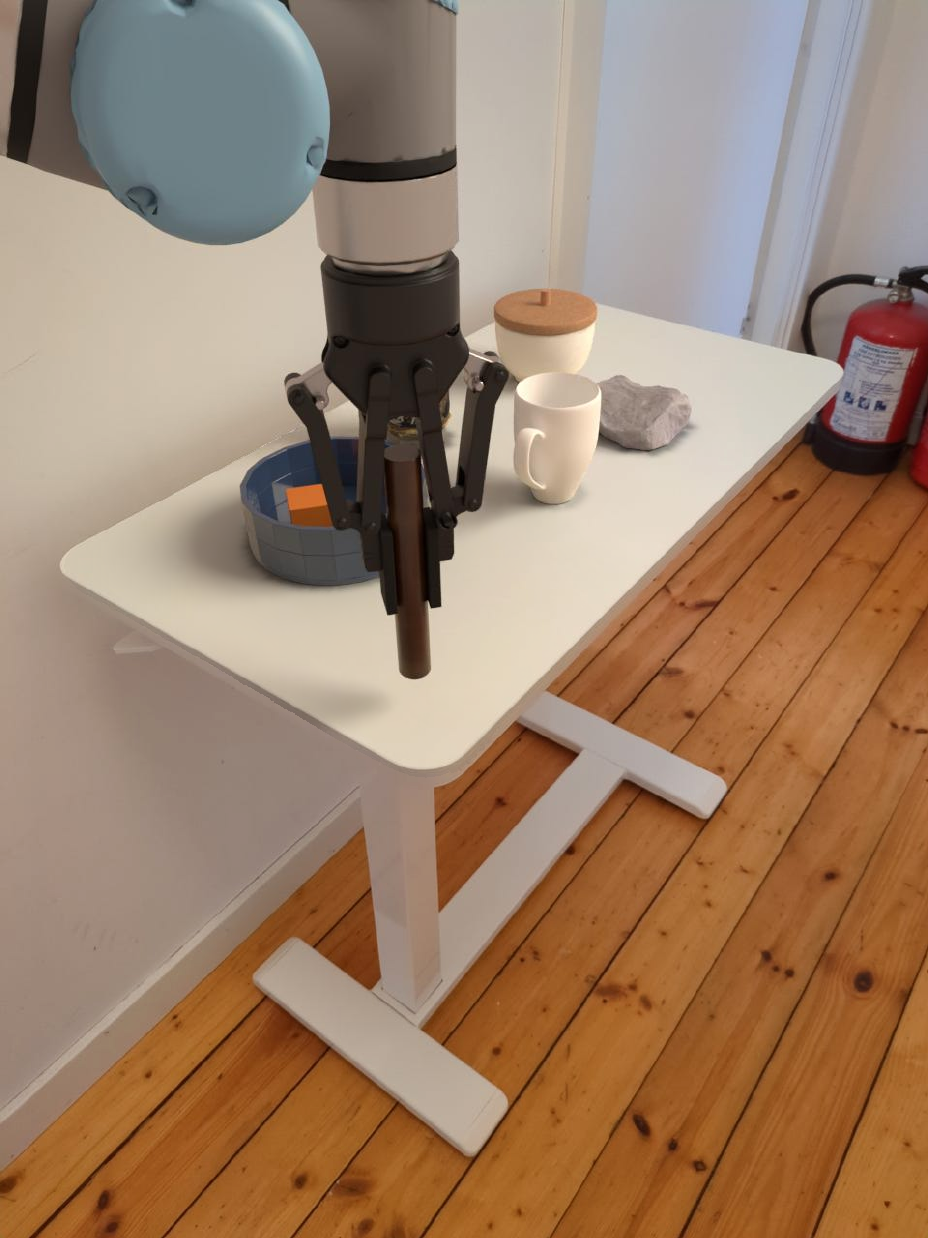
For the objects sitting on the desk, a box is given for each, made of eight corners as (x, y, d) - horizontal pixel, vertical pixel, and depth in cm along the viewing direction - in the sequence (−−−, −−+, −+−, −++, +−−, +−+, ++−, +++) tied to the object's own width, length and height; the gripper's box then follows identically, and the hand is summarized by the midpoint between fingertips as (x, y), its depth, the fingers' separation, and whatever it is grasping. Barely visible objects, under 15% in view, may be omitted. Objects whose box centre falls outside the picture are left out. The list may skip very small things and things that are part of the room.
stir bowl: (257, 599, 79) (245, 543, 76) (246, 501, 93) (235, 449, 89) (445, 568, 82) (443, 513, 79) (409, 477, 95) (406, 426, 92)
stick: (402, 682, 66) (385, 464, 54) (396, 661, 67) (379, 446, 56) (434, 676, 66) (424, 459, 55) (427, 655, 68) (416, 441, 57)
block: (295, 546, 85) (289, 510, 82) (291, 523, 88) (285, 488, 85) (337, 539, 85) (332, 503, 83) (331, 517, 89) (327, 482, 86)
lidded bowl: (612, 382, 113) (620, 294, 106) (528, 407, 108) (531, 316, 101) (555, 349, 121) (558, 266, 114) (475, 370, 116) (474, 284, 110)
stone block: (650, 470, 99) (697, 421, 103) (649, 434, 95) (697, 385, 100) (563, 442, 105) (610, 397, 110) (558, 407, 102) (607, 362, 106)
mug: (535, 466, 97) (538, 365, 90) (606, 484, 93) (615, 381, 86) (481, 519, 89) (479, 413, 82) (557, 541, 85) (562, 433, 78)
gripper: (508, 221, 52) (502, 554, 67) (240, 243, 50) (295, 585, 64) (547, 260, 47) (531, 614, 61) (247, 287, 44) (306, 651, 59)
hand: (410, 599), depth 63 cm, fingers closed on stick, 2 cm apart
